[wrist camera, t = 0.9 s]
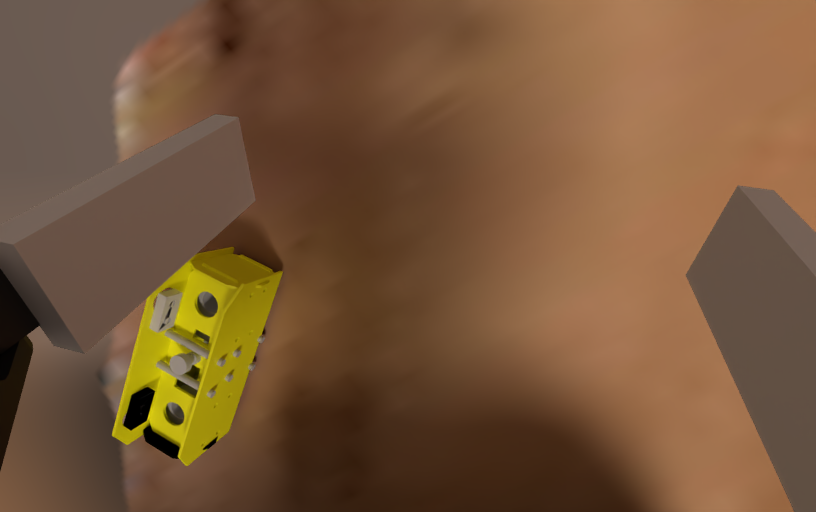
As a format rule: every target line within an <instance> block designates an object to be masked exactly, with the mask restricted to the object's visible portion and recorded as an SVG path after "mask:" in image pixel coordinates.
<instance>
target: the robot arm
mask: <svg viewBox="0 0 816 512" xmlns="http://www.w3.org/2000/svg"><path fill="white" fill-rule="evenodd" d="M255 201H256V200H255V195H254V190H253V185H252V180H251V175H250V170H249V165H248V160H247V156H246V151H245V146H244V141H243V136H242V131H241V126H240V121H239V117H233V116H226V115H218V114H214V115H212V116H210V117H208V118H207V119H205V120H203V121H201V122H199V123H197V124H195V125H193V126H191V127H189V128H187V129H185V130H183V131H181V132H179V133H177V134H175V135H173V136H171V137H170V138H168V139H166V140H164V141H162V142H160V143H158V144H156V145H154V146H152V147H150V148H148V149H146V150H144V151H142V152H140V153H138V154H136V155H134V156H132V157H131V158H129V159H127V160H125V161H123V162H121V163H119V164H117V165H115V166H113V167H111V168H109V169H107V170H105V171H104V172H101V173H99V174H97V175H95V176H93V177H92V178H90V179H88V180H86V181H84V182H82V183H80V184H78V185H76V186H74V187H72V188H70V189H68V190H66V191H64V192H62V193H60V194H58V195H56V196H54V197H53V198H51V199H49V200H47V201H45V202H43V203H41V204H39V205H37V206H35V207H33V208H31V209H29V210H27V211H25V212H23V213H21V214H19V215H17V216H15V217H14V218H12V219H10V220H8V221H6V222H4V223H2V224H0V470H1V466H2V463H3V459H4V456H5V452H6V448H7V445H8V441H9V437H10V433H11V429H12V426H13V422H14V419H15V415H16V411H17V408H18V404H19V400H20V396H21V393H22V389H23V386H24V382H25V378H26V374H27V371H28V367H29V364H30V360H31V356H32V353H33V344H32V342H31V341H30V339H29V338H28V337H27V334H29V333H30V332H31V331H33V330H34V329H35V328H37V327H38V326H40V327H41V328H42V330H43V331H44V332H45V334H46V335H47V337H48V338H49V339H50V341H51V342H52V344H53V345H54V346H57V347H60V348H64V349H68V350H72V351H76V352H80V353H84V354H85V353H86V352H87V351H88V350H89V349H91V348H92V347H93V346H94V345H95V344H96V343H97V342H98V341H100V340H101V339H102V338H103V337H104V336H105V335H106V334H107V333H109V332H110V331H111V330H112V329H113V328H114V327H115V326H116V325H117V324H119V323H120V322H121V321H122V320H123V319H124V318H125V317H126V316H128V315H129V314H130V313H131V312H132V311H133V310H134V309H135V308H136V307H138V306H139V305H140V304H141V303H142V302H143V301H144V300H145V299H147V298H148V297H149V296H150V295H151V294H152V293H153V292H154V291H155V290H157V289H158V288H159V287H160V286H161V285H162V284H163V283H164V282H165V281H167V280H168V279H169V278H170V277H171V276H172V275H173V274H174V273H176V272H177V271H178V270H179V269H180V268H181V267H182V266H183V265H184V264H186V263H187V262H188V261H189V260H190V259H191V258H192V257H193V256H195V255H196V254H197V253H198V252H199V251H200V250H201V249H202V248H203V247H205V246H206V245H207V244H208V243H209V242H210V241H211V240H212V239H213V238H215V237H216V236H217V235H218V234H219V233H220V232H221V231H222V230H224V229H225V228H226V227H227V226H228V225H229V224H230V223H231V222H232V221H234V220H235V219H236V218H237V217H238V216H239V215H240V214H241V213H243V212H244V211H245V210H246V209H247V208H248V207H249V206H250V205H251V204H253V203H254V202H255ZM686 277H687V279H688V281H689V283H690V285H691V288H692V290H693V292H694V294H695V296H696V298H697V301H698V303H699V305H700V307H701V309H702V312H703V314H704V316H705V318H706V320H707V322H708V325H709V327H710V329H711V331H712V333H713V335H714V338H715V340H716V342H717V344H718V346H719V349H720V351H721V353H722V355H723V357H724V359H725V362H726V364H727V366H728V368H729V370H730V372H731V375H732V377H733V379H734V381H735V383H736V386H737V388H738V390H739V392H740V394H741V396H742V399H743V401H744V403H745V405H746V407H747V410H748V412H749V414H750V416H751V418H752V420H753V423H754V425H755V427H756V429H757V431H758V433H759V436H760V438H761V440H762V442H763V444H764V447H765V449H766V451H767V453H768V455H769V457H770V460H771V462H772V464H773V466H774V468H775V470H776V473H777V475H778V477H779V479H780V481H781V484H782V486H783V488H784V490H785V492H786V494H787V497H788V499H789V501H790V503H791V505H792V507H793V510H794V512H816V233H815V232H814V231H813V229H812V228H811V227H810V226H809V225H808V224H807V223H806V222H805V221H804V220H803V219H802V218H801V217H800V216H799V215H798V214H797V213H796V212H795V211H794V210H793V209H792V208H791V207H790V206H789V205H788V204H787V203H786V202H785V201H784V200H783V199H782V198H781V197H780V196H779V195H778V194H777V193H776V192H775V191H774V190H767V189H760V188H752V187H745V186H737V188H736V190H735V191H734V193H733V195H732V196H731V198H730V200H729V202H728V203H727V205H726V207H725V208H724V210H723V212H722V214H721V215H720V217H719V219H718V220H717V222H716V224H715V226H714V227H713V229H712V231H711V232H710V234H709V236H708V238H707V239H706V241H705V243H704V244H703V246H702V248H701V250H700V251H699V253H698V255H697V256H696V258H695V260H694V262H693V263H692V265H691V267H690V268H689V270H688V272H687V274H686Z"/></svg>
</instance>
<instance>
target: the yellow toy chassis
mask: <svg viewBox="0 0 816 512" xmlns="http://www.w3.org/2000/svg"><path fill="white" fill-rule="evenodd" d="M233 252H234V247H229V248H223V249H218V250H213V251H207V252H202V253H197V254H196V255H195V256H193V257H192V258H191V259H190V260H189V261H188V262H187V263H186V264H184V265H183V266H182V267H181V268H180V269H179V270H178V271H177V272H176V273H174V274H173V275H172V276H171V277H170V278H169V279H168V280H167V281H165V282H164V283H163V284H162V285H161V286H160V287H159V288H158V289H157V290H155V291H154V292H153V293H152V294H151V295H150V296H149V297H148V298H147V301H146V305H145V309H144V313H143V316H142V320H141V324H140V328H139V332H138V336H137V340H136V343H135V347H134V351H133V355H132V359H131V363H130V367H129V371H128V374H127V378H126V382H125V386H124V390H123V394H122V398H121V401H120V405H119V409H118V413H117V417H116V421H115V425H114V429H113V433H112V436H114V437H115V438H117V439H118V440H120V441H122V442H123V443H125V444H126V445H128V444H129V443H131V442H133V441H134V440H136V439H137V438H139V437H140V436H142V435H143V434H144V437H145V441H146V442H147V443H149V444H150V445H152V446H153V447H155V448H157V449H158V450H160V451H162V452H163V453H165V454H166V455H168V456H170V457H171V458H175V459H180V460H181V461H182V462H183V463H184V464H185V465H186V466H188V465H189V464H190V463H192V462H193V461H194V460H195V459H196V458H198V457H199V456H200V455H201V454H202V453H204V452H205V451H206V450H207V449H209V448H210V447H211V446H212V445H214V444H215V443H216V442H217V441H218V440H219V439H220V438H222V437H223V436H224V435H225V434H226V433H228V432H229V430H230V427H231V424H232V421H233V418H234V415H235V412H236V409H237V406H238V403H239V400H240V397H241V394H242V391H243V388H244V385H245V382H246V379H247V376H248V373H249V370H251V371H252V370H253V369H254V368H255V366H256V365H255V364H253V363H252V362H253V359H254V356H255V353H256V350H257V347H258V344H259V343H262V342H263V341H264V339H265V337H263V336H261V335H262V332H263V329H264V326H265V323H266V320H267V317H268V314H269V311H270V308H271V306H272V303H273V300H274V297H275V294H276V291H277V288H278V285H279V282H280V279H281V276H282V273H283V271H278V272H275V273H274V272H273V270H272V269H270V268H268V267H266V266H264V265H262V264H260V263H258V262H256V261H254V260H252V259H250V258H248V257H246V256H244V255H236V254H233ZM166 288H172V289H171V290H167V291H163V292H161V291H162V290H164V289H166ZM157 295H158V297H157V301H156V304H155V308H153V302H154V300H155V298H156V296H157ZM126 412H127V414H126ZM125 414H126V418H125V421H124V424H123V423H122V420H123V417H124V416H125Z"/></svg>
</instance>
